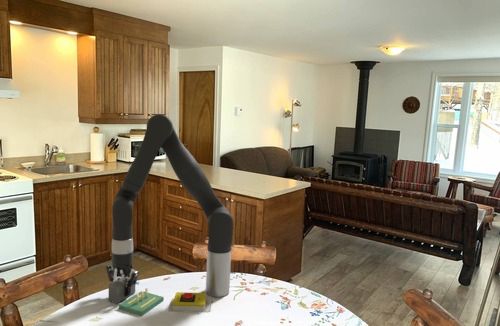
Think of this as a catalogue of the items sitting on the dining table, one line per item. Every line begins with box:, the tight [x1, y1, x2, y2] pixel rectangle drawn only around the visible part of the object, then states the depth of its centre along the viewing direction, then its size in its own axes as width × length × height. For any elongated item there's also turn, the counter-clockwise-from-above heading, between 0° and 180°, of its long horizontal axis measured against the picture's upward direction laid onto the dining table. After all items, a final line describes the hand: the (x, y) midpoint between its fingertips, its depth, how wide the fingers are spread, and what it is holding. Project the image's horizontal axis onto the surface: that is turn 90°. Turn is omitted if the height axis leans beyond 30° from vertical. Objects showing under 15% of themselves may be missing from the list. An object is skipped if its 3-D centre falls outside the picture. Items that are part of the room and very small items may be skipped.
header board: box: [118, 287, 164, 317], centre depth 134 cm, size 12×10×5 cm
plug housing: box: [108, 276, 136, 304], centre depth 138 cm, size 10×4×6 cm, turn 157°
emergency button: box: [167, 291, 213, 313], centre depth 135 cm, size 9×4×15 cm
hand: (122, 294), depth 139 cm, fingers closed on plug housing, 4 cm apart
